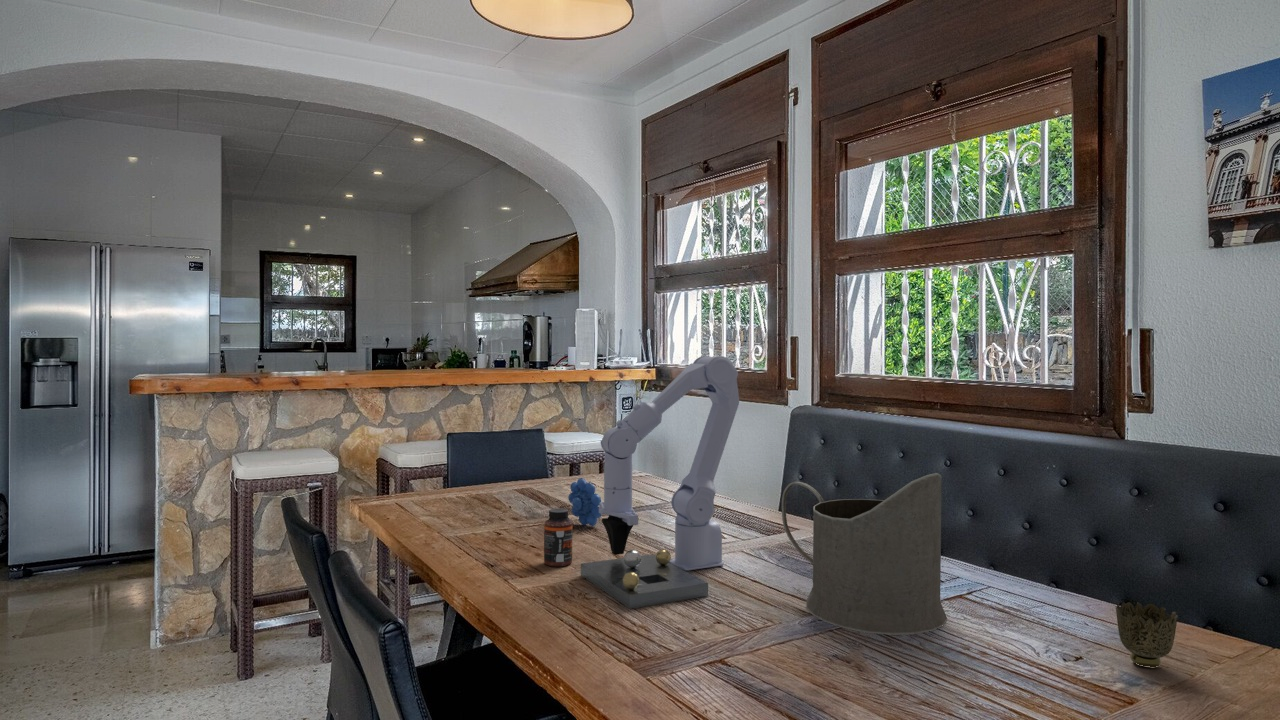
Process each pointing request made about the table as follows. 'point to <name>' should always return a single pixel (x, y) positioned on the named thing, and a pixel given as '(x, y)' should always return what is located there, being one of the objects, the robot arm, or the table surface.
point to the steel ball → (632, 558)
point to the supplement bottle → (558, 538)
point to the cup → (1146, 632)
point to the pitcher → (877, 560)
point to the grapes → (585, 502)
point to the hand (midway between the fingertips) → (617, 553)
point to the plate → (644, 582)
